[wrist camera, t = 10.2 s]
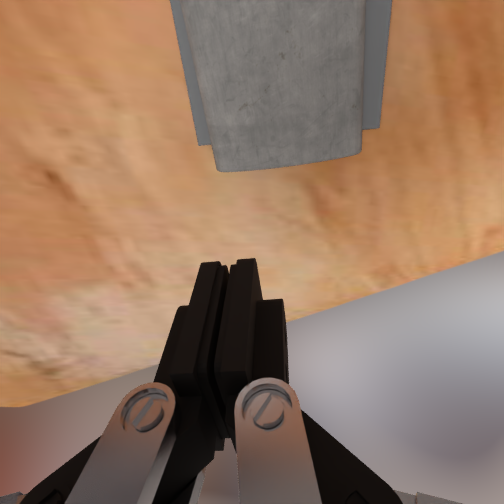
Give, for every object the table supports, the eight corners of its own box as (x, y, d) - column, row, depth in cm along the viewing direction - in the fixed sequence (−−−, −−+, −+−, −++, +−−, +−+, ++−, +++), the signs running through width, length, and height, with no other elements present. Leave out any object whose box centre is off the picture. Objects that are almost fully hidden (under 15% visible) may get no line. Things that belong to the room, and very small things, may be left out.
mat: (398, -88, 28) (400, -90, 27) (377, 126, 37) (379, 128, 37) (161, -51, 30) (159, -52, 29) (199, 144, 39) (198, 145, 39)
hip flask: (358, 144, 38) (363, -108, 27) (366, 157, 35) (376, -125, 24) (218, 163, 40) (169, -64, 29) (214, 177, 37) (156, -75, 25)
